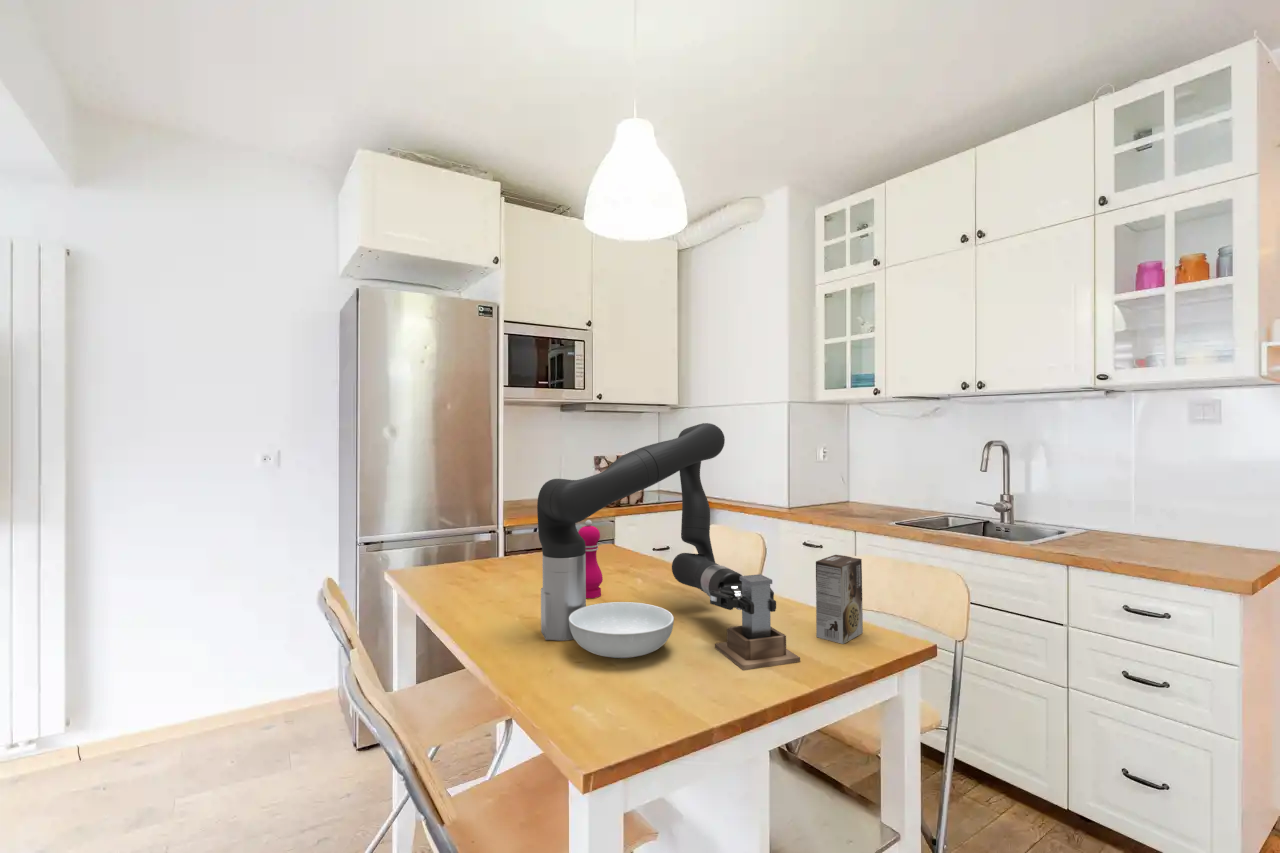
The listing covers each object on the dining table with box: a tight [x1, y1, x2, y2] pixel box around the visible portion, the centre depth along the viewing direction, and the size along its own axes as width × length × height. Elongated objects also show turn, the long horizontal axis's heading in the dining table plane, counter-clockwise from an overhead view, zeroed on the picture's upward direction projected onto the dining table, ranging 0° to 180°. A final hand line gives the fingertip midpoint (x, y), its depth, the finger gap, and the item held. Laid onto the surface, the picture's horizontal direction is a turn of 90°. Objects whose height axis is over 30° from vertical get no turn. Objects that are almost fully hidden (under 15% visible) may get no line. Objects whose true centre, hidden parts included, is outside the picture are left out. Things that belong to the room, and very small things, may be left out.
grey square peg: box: [740, 573, 773, 640], centre depth 119 cm, size 5×5×12 cm
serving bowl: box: [569, 601, 675, 659], centre depth 122 cm, size 21×21×7 cm
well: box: [714, 625, 801, 671], centre depth 119 cm, size 12×12×4 cm
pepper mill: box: [577, 519, 604, 599], centre depth 162 cm, size 7×7×20 cm
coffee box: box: [815, 554, 864, 645], centre depth 130 cm, size 9×6×16 cm
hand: (763, 607), depth 116 cm, fingers closed on grey square peg, 4 cm apart
